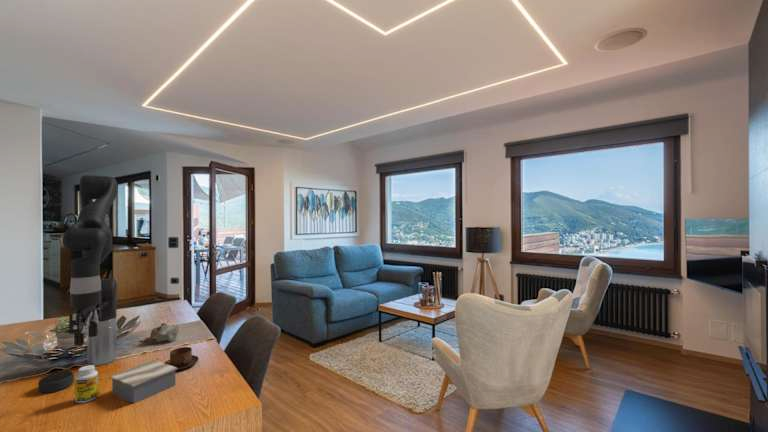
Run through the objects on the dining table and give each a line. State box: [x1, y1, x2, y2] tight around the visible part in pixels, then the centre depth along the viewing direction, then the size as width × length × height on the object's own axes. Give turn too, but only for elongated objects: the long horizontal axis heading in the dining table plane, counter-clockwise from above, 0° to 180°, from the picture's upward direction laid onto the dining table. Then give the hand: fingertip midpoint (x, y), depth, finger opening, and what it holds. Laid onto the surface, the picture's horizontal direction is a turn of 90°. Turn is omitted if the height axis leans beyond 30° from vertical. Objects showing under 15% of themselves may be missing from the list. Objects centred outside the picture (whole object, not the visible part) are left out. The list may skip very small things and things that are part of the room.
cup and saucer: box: [164, 346, 199, 371], centre depth 135 cm, size 12×12×6 cm
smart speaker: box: [37, 370, 75, 394], centre depth 119 cm, size 9×9×4 cm
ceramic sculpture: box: [138, 323, 180, 344], centre depth 162 cm, size 11×9×15 cm
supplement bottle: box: [74, 364, 99, 404], centre depth 111 cm, size 6×6×10 cm
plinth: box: [109, 359, 178, 404], centre depth 117 cm, size 14×14×6 cm
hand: (86, 340), depth 111 cm, fingers open, 8 cm apart
